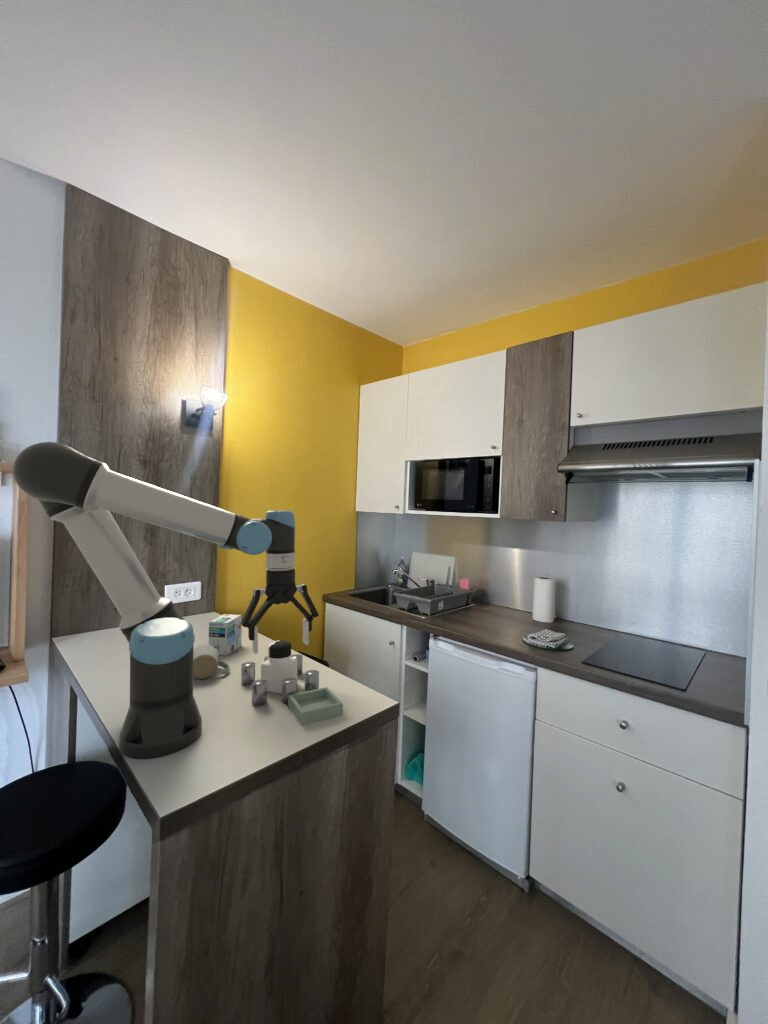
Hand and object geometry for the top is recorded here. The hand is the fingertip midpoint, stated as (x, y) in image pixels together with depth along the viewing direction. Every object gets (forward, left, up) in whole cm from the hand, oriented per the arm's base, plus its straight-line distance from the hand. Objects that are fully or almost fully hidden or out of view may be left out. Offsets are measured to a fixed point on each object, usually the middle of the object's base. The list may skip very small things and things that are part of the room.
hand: (281, 647), depth 112 cm
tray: (+4, -16, -10) cm, 20 cm away
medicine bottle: (0, 0, -11) cm, 11 cm away
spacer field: (0, 0, -10) cm, 10 cm away
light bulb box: (-8, +37, -11) cm, 39 cm away
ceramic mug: (-16, +18, -11) cm, 26 cm away
